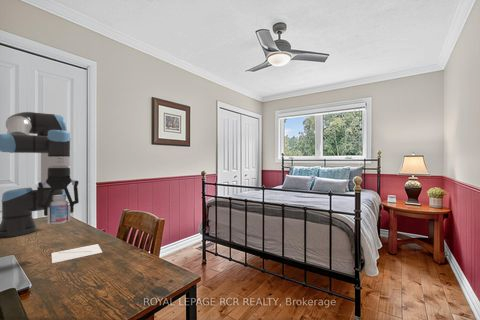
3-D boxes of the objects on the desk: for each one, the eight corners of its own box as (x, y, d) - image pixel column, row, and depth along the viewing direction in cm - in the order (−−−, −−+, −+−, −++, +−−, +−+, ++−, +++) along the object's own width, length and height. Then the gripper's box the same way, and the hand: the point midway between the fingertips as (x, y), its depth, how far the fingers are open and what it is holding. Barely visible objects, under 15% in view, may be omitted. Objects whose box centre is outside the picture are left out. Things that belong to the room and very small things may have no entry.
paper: (51, 253, 100) (51, 252, 100) (97, 244, 111) (97, 243, 111) (52, 263, 90) (52, 263, 90) (102, 252, 101) (102, 252, 101)
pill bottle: (58, 224, 96) (58, 197, 96) (46, 223, 97) (46, 196, 97) (71, 220, 102) (71, 194, 102) (59, 219, 103) (60, 194, 103)
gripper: (28, 167, 90) (28, 228, 91) (87, 167, 102) (87, 220, 103) (29, 167, 96) (29, 223, 96) (84, 166, 108) (84, 216, 108)
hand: (59, 221), depth 99 cm, fingers closed on pill bottle, 6 cm apart
